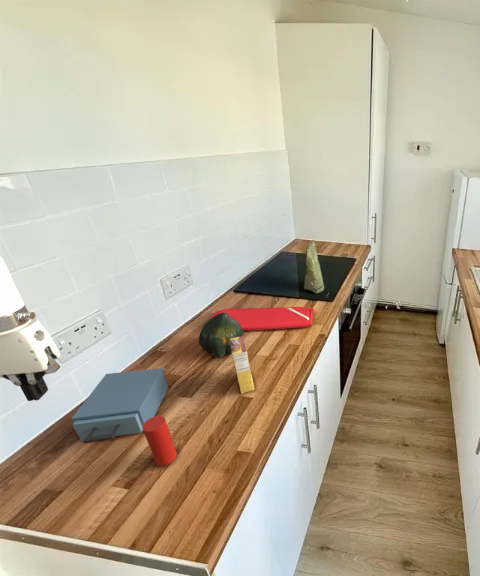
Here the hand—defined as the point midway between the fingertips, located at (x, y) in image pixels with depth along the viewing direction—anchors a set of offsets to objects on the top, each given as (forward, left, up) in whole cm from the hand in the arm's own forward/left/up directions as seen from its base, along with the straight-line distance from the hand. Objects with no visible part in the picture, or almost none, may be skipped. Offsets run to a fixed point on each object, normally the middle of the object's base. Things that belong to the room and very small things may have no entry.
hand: (38, 395), depth 67 cm
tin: (+19, -1, -23) cm, 29 cm away
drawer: (+4, +13, -22) cm, 25 cm away
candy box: (+34, +23, -23) cm, 47 cm away
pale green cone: (+58, +89, -23) cm, 108 cm away
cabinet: (+4, +17, -23) cm, 28 cm away
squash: (+24, +43, -23) cm, 54 cm away
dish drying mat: (+36, +60, -23) cm, 73 cm away
